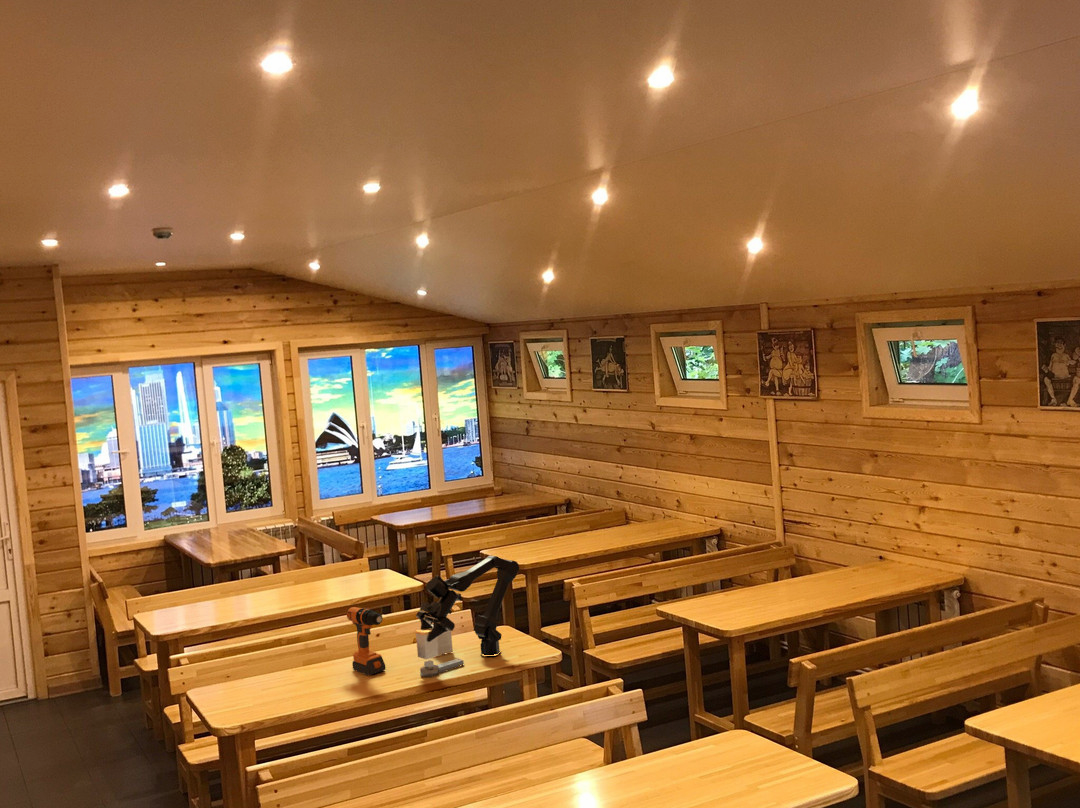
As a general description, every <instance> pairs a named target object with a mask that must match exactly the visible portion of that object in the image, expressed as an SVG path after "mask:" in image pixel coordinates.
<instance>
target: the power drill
mask: <svg viewBox="0 0 1080 808" xmlns="http://www.w3.org/2000/svg"><path fill="white" fill-rule="evenodd" d="M346 618H347V619H348V620H349V621H350V622H351V623H352V624H353V625H355V627H356V633H357V634H356V641H357V651H354V653H352V656H353V661H352V670H353V671H355V672H358V673H361V674H363V675H366V676H368V675H369V676H371V675H375V674H378V673H381V672H383V671H386V664H385V663H386V662H385V661H384V658H383V656H382V655H381V654H380V653H377V652H376V651H373V650H370V641H369V640H370V639H369V636H370V635H371V634H372V633H371V629H372V628H373V626H374V625H375V626H378V625H381V623H382V622H383V615H382V614H381V613H379V612H377V611H375V610H373V609H371V608H368V607H355V606H352V607H350V608H349V609H348V610H347V611H346Z"/></svg>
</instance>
